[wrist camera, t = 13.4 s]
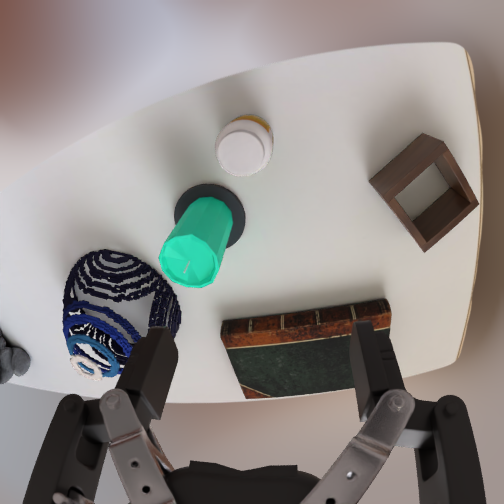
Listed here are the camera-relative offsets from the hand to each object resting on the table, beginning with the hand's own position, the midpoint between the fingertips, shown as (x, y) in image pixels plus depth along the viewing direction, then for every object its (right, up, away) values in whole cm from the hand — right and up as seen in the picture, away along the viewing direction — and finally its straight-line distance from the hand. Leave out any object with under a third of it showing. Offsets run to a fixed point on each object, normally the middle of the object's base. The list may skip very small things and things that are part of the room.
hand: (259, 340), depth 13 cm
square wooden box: (+20, +12, +21) cm, 32 cm away
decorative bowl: (-21, -5, +35) cm, 41 cm away
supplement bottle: (-1, +17, +21) cm, 27 cm away
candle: (-6, +8, +26) cm, 27 cm away
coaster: (-6, +8, +26) cm, 28 cm away
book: (+9, -12, +36) cm, 39 cm away
